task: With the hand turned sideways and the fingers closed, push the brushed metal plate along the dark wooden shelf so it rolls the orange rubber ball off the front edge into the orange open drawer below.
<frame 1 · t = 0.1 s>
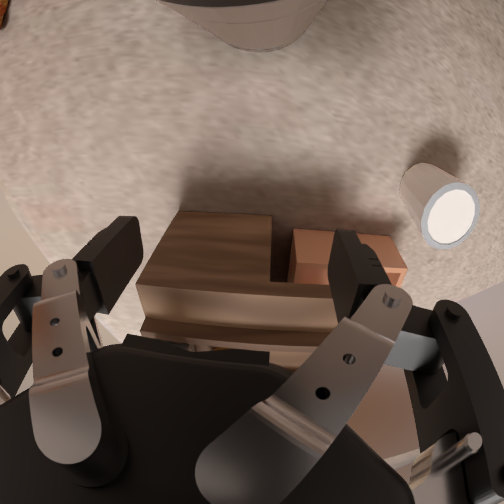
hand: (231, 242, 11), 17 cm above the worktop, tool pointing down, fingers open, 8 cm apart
brushed metal plate: (159, 416, 18), point 19 cm above the worktop, slide at 0.0 cm
shelf: (250, 267, 34), on the worktop
white cylinder: (421, 186, 27), on the worktop
orange open drawer: (334, 272, 34), on the worktop
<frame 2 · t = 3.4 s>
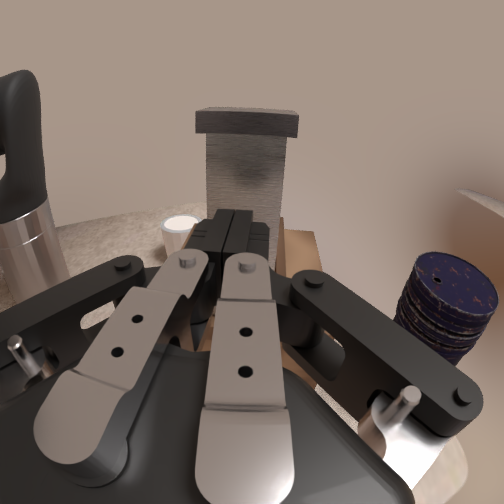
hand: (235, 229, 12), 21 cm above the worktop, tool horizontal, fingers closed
dark blue ribbed barrel: (401, 379, 29), on the worktop
brushed metal plate: (244, 220, 18), point 19 cm above the worktop, slide at 0.0 cm
shelf: (244, 348, 33), on the worktop
white cylinder: (184, 259, 49), on the worktop
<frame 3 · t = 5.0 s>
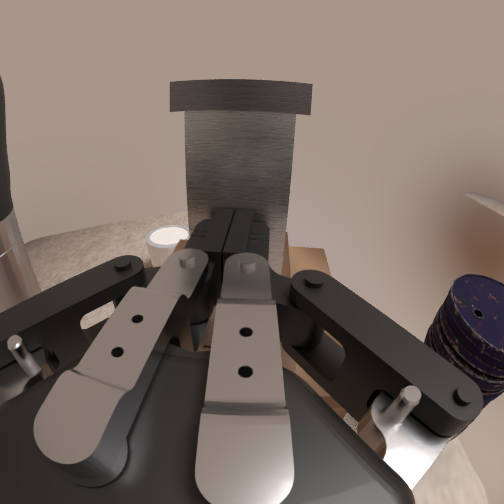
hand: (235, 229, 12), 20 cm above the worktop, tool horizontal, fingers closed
dark blue ribbed barrel: (421, 415, 23), on the worktop
brushed metal plate: (239, 229, 14), point 19 cm above the worktop, slide at 2.0 cm, touching gripper
shelf: (241, 386, 27), on the worktop
white cylinder: (174, 276, 43), on the worktop
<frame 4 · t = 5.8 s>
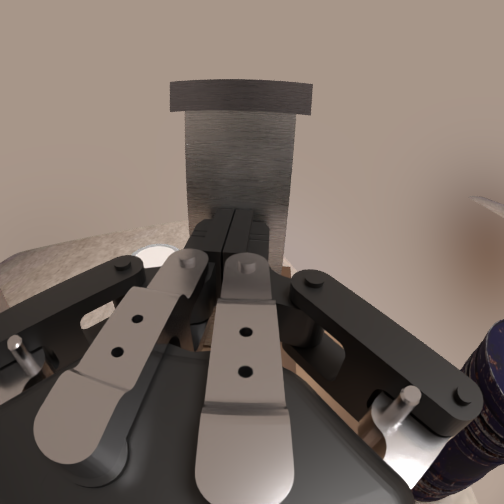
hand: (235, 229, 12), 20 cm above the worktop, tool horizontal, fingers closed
dark blue ribbed barrel: (432, 460, 18), on the worktop
brushed metal plate: (239, 229, 14), point 19 cm above the worktop, slide at 7.8 cm, touching gripper
shelf: (235, 436, 22), on the worktop
white cylinder: (162, 301, 38), on the worktop
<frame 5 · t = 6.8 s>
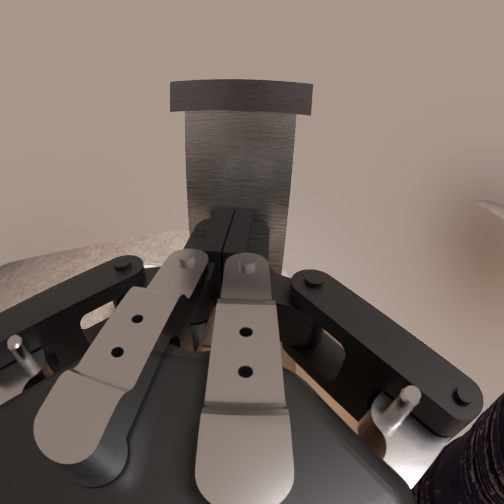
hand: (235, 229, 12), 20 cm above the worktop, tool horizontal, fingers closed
dark blue ribbed barrel: (438, 498, 14), on the worktop
brushed metal plate: (240, 229, 14), point 19 cm above the worktop, slide at 12.4 cm, touching gripper
shelf: (230, 480, 18), on the worktop
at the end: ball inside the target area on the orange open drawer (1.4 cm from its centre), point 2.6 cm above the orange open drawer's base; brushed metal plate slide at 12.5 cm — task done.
